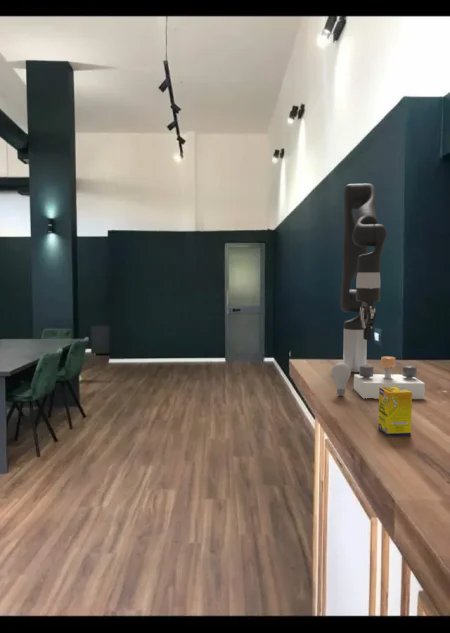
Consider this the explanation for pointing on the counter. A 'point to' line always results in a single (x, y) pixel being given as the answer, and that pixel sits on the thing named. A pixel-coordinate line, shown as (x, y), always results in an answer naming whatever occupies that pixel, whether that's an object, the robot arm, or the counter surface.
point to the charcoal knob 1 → (366, 371)
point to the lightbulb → (341, 376)
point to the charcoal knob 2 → (409, 372)
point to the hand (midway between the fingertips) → (367, 339)
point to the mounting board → (387, 385)
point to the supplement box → (395, 411)
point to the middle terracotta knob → (388, 366)
